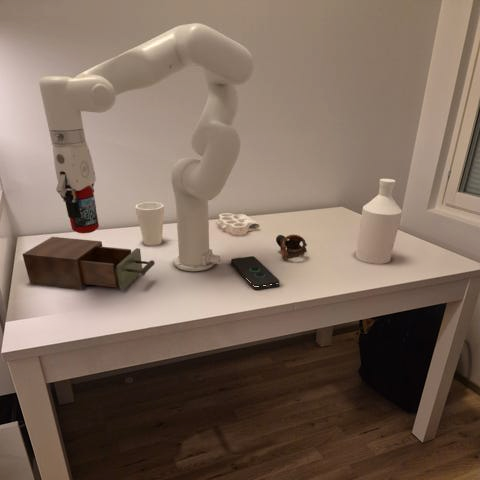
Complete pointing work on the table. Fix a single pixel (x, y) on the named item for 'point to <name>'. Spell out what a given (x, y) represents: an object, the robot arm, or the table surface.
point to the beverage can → (85, 212)
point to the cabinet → (58, 262)
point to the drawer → (112, 267)
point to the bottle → (379, 226)
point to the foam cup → (151, 222)
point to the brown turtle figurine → (291, 246)
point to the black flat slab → (254, 272)
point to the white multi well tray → (237, 223)
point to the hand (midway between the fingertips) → (82, 212)
